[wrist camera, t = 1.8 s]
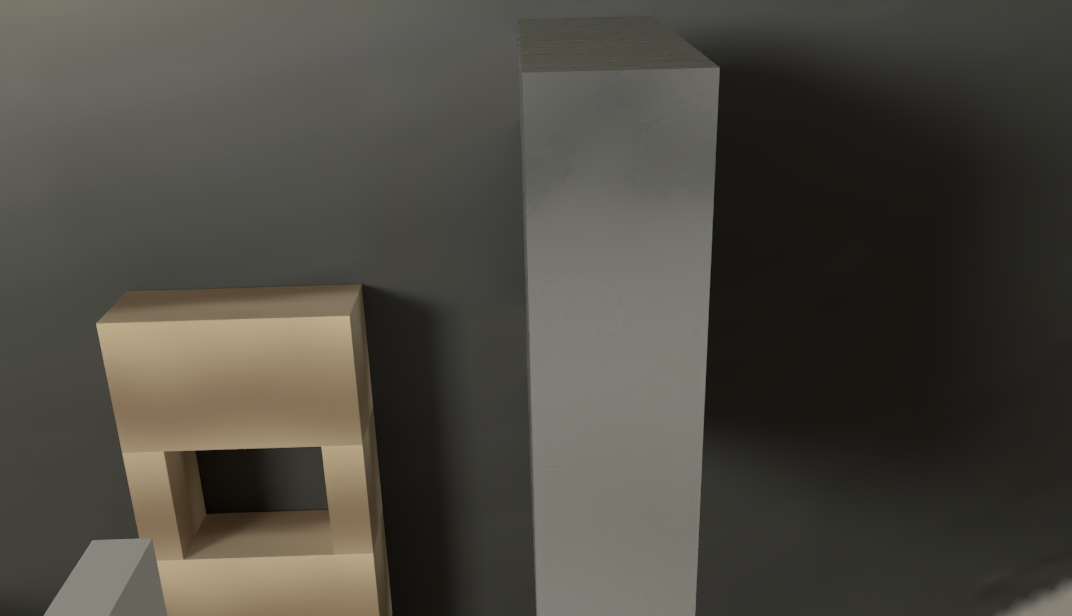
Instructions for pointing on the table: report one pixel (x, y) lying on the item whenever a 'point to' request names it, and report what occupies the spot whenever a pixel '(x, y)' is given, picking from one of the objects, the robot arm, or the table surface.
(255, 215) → the table surface
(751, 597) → the table surface
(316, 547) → the wooden ladder frame
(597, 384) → the grey flat block
